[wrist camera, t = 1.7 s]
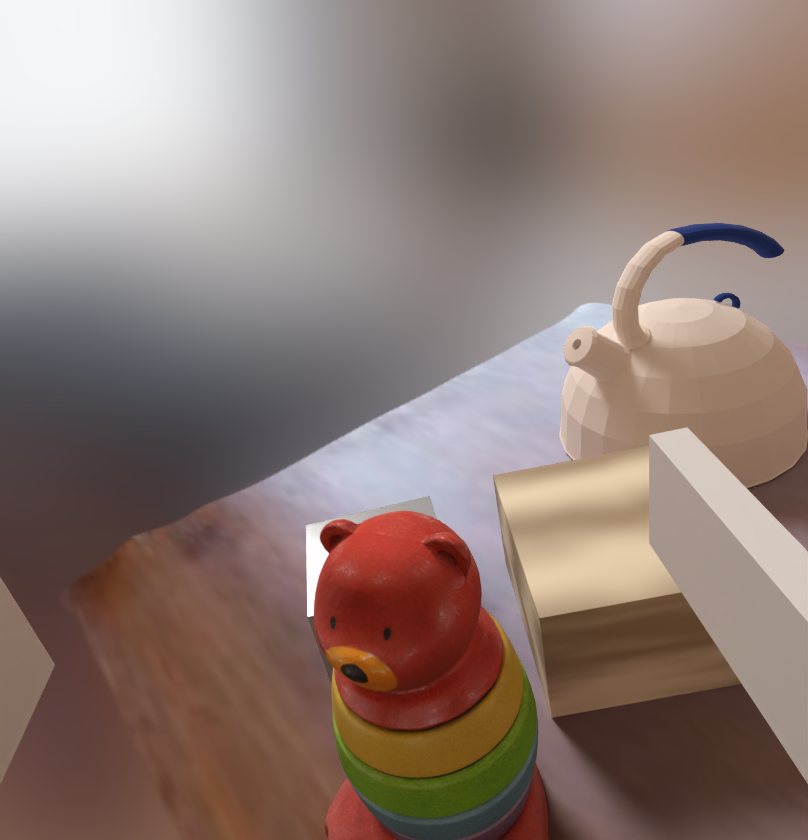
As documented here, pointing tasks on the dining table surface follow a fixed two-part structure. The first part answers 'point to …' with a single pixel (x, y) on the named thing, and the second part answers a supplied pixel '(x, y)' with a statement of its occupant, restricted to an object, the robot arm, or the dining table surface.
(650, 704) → the dining table surface
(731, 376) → the kettle
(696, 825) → the dining table surface
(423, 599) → the stacking bear
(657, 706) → the dining table surface
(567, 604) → the birch block
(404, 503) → the stoneware block
